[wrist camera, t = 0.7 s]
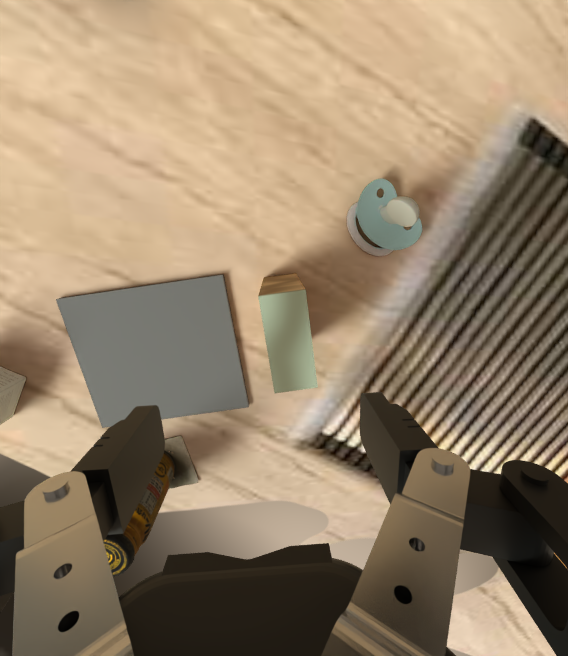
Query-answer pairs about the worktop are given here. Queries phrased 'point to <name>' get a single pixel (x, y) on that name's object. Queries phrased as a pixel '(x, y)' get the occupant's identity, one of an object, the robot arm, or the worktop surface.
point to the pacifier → (384, 219)
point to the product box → (9, 392)
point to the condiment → (150, 504)
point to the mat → (157, 348)
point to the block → (287, 333)
